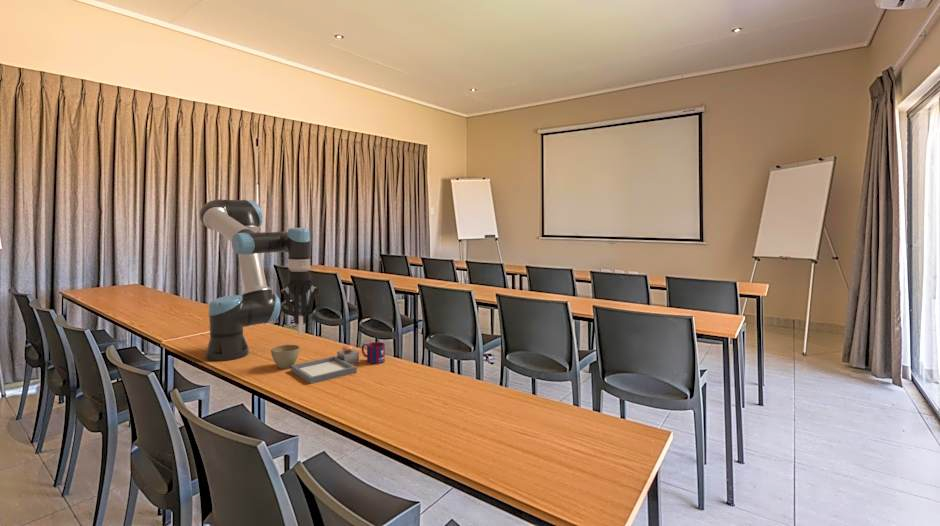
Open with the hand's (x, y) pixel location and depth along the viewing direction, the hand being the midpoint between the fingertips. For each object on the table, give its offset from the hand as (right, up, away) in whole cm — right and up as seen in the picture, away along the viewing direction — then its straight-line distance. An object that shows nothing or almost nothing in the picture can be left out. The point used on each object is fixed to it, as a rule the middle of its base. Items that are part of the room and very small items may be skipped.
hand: (300, 332), depth 173 cm
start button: (+16, -10, +5) cm, 20 cm away
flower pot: (-5, -13, -1) cm, 14 cm away
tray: (+11, -13, -6) cm, 18 cm away
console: (+16, -12, +5) cm, 21 cm away
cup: (+26, -12, +7) cm, 29 cm away
